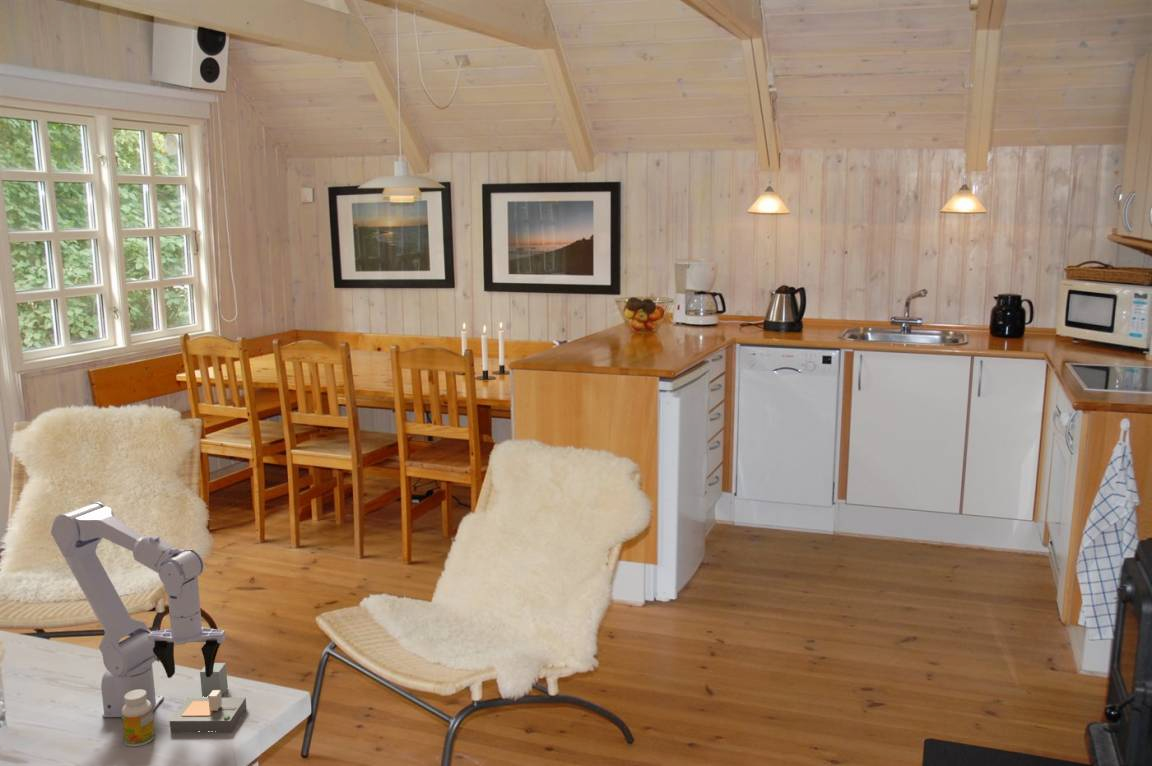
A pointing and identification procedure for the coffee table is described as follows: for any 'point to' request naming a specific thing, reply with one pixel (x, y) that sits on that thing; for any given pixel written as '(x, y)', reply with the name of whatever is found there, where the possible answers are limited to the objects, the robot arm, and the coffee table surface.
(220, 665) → the block
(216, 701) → the lever
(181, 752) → the coffee table surface
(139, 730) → the supplement bottle
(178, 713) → the switch box
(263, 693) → the coffee table surface
